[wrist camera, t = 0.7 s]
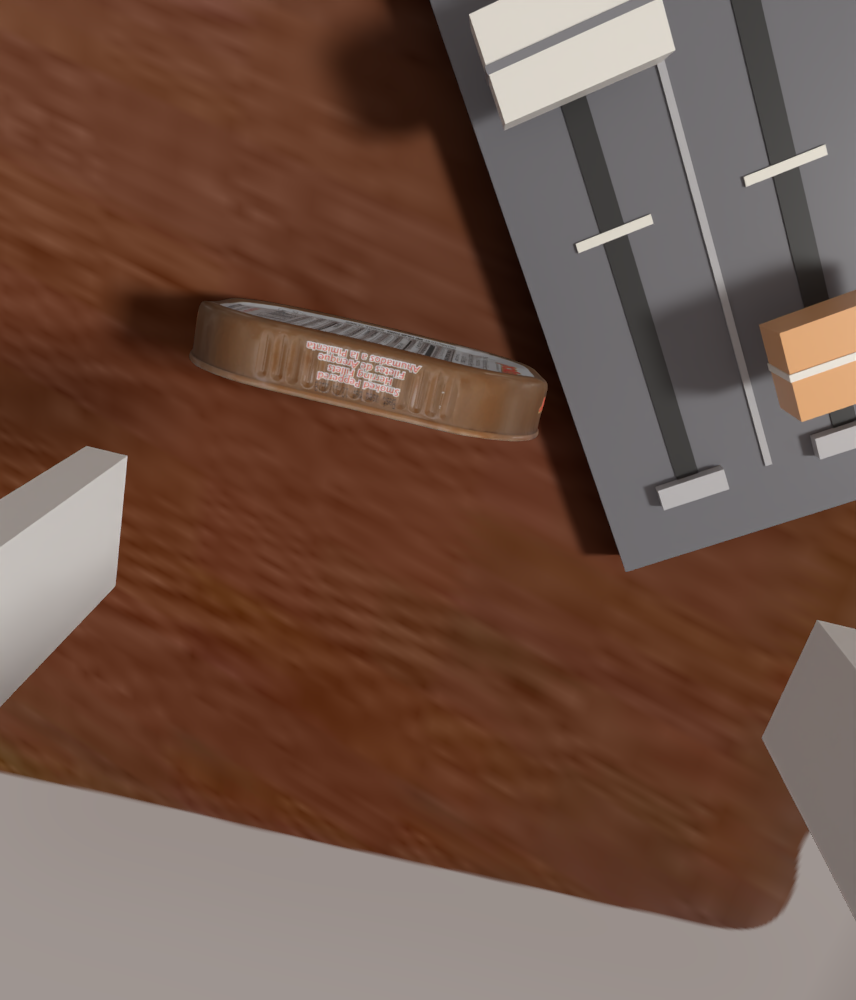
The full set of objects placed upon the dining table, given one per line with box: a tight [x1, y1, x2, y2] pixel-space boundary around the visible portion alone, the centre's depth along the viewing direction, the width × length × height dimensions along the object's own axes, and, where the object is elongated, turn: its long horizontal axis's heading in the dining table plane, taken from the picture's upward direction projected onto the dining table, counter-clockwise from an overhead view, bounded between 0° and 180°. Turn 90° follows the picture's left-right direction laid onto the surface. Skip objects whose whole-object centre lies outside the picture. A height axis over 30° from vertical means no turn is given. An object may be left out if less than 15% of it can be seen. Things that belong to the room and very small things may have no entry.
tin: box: [189, 298, 548, 441], centre depth 33 cm, size 15×3×8 cm, turn 77°
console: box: [429, 0, 856, 572], centre depth 33 cm, size 30×15×3 cm, turn 22°
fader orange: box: [759, 290, 856, 422], centre depth 31 cm, size 4×6×4 cm, turn 112°
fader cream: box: [469, 0, 675, 131], centre depth 29 cm, size 4×6×4 cm, turn 112°
